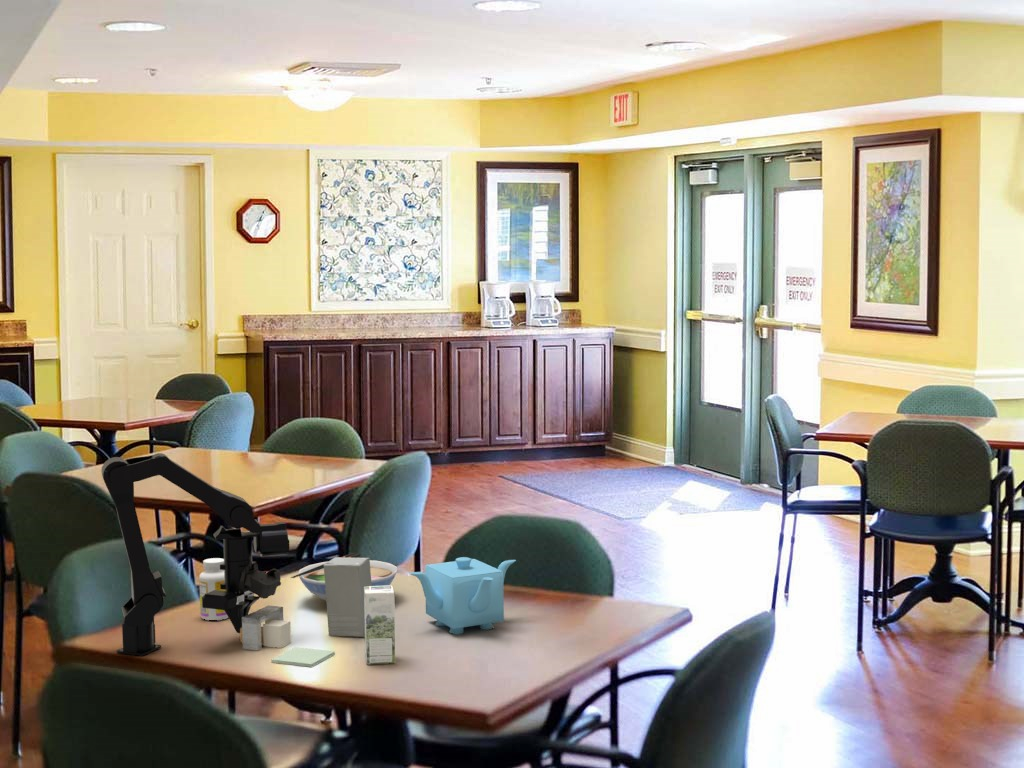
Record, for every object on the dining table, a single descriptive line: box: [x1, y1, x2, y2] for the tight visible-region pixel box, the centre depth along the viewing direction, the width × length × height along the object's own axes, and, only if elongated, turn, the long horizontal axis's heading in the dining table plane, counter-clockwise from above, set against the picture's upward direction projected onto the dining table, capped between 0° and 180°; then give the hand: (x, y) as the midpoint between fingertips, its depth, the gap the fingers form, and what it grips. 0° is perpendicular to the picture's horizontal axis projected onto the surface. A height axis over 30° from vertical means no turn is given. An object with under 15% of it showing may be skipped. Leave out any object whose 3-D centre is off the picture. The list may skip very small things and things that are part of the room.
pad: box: [271, 646, 335, 668], centre depth 273 cm, size 9×9×1 cm
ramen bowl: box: [290, 552, 398, 601], centre depth 316 cm, size 25×23×8 cm
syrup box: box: [364, 584, 396, 665], centre depth 270 cm, size 6×6×14 cm
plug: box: [239, 620, 292, 649], centre depth 283 cm, size 4×10×4 cm, turn 68°
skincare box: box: [324, 556, 372, 638], centre depth 289 cm, size 8×7×16 cm
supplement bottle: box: [198, 557, 229, 621], centre depth 303 cm, size 7×7×13 cm
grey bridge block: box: [242, 604, 284, 651], centre depth 283 cm, size 10×4×6 cm, turn 158°
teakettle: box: [409, 556, 517, 635], centre depth 294 cm, size 19×19×15 cm
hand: (239, 632), depth 286 cm, fingers closed, pressing on plug
